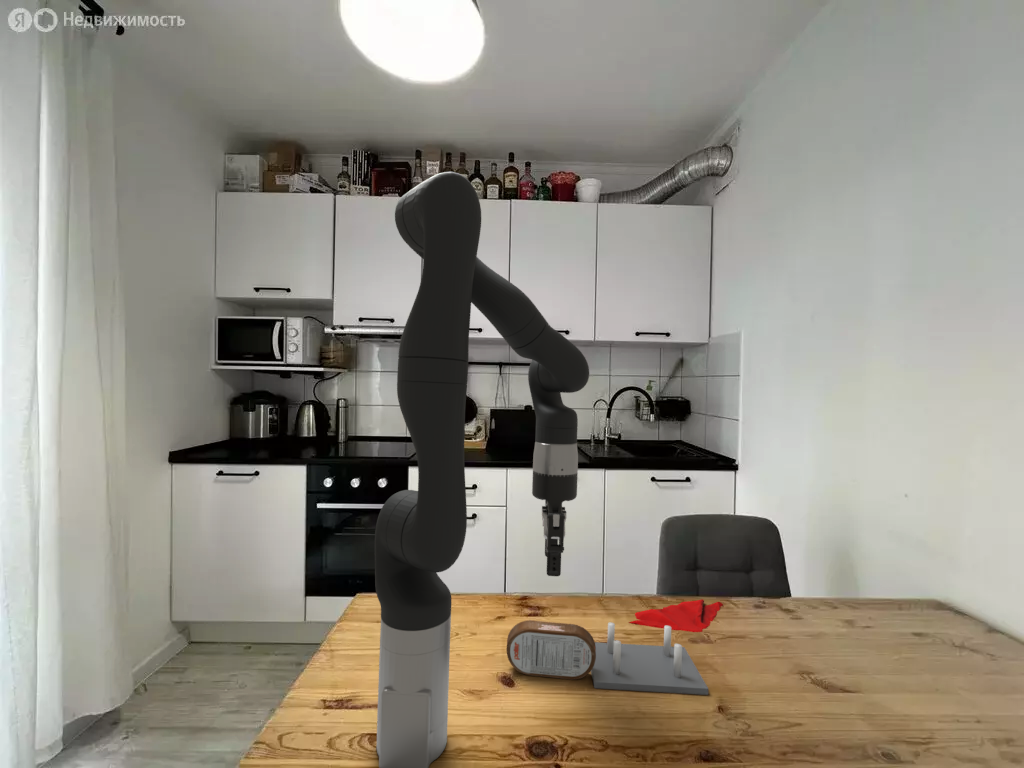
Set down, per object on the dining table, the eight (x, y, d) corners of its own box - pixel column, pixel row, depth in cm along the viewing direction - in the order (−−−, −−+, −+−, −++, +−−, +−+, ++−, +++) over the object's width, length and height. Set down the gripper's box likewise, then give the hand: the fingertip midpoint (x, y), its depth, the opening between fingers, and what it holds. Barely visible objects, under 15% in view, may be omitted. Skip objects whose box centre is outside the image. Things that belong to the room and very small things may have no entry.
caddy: (708, 695, 75) (709, 657, 75) (594, 688, 76) (595, 650, 76) (684, 652, 87) (685, 620, 87) (586, 647, 88) (587, 614, 88)
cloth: (638, 640, 92) (638, 628, 92) (610, 607, 106) (610, 597, 106) (756, 631, 97) (756, 620, 97) (715, 601, 111) (715, 591, 111)
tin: (594, 673, 80) (596, 623, 80) (596, 684, 77) (597, 633, 77) (506, 665, 82) (508, 616, 82) (504, 676, 79) (506, 625, 79)
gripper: (582, 478, 73) (579, 584, 73) (573, 463, 87) (570, 551, 87) (533, 476, 73) (529, 581, 73) (532, 461, 87) (529, 549, 87)
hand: (552, 565), depth 80 cm, fingers open, 8 cm apart
